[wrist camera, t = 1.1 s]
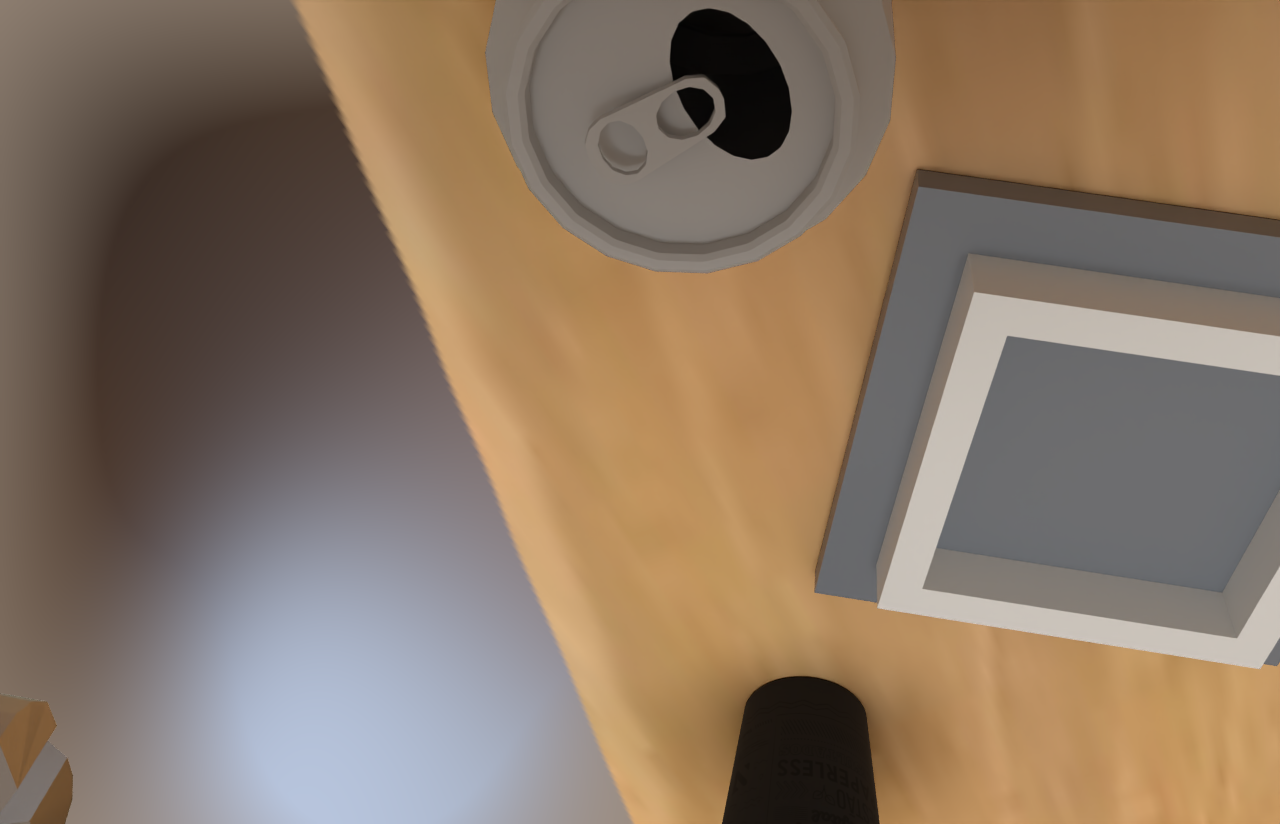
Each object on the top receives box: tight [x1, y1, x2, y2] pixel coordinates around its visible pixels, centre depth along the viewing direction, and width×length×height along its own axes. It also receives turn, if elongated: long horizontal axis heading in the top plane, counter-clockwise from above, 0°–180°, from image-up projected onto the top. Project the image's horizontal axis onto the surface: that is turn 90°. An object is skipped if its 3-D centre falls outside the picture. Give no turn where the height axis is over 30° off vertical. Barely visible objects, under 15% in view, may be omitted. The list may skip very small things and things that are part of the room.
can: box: [485, 0, 896, 273], centre depth 26 cm, size 8×8×12 cm
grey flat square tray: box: [815, 169, 1280, 669], centre depth 37 cm, size 16×16×3 cm
